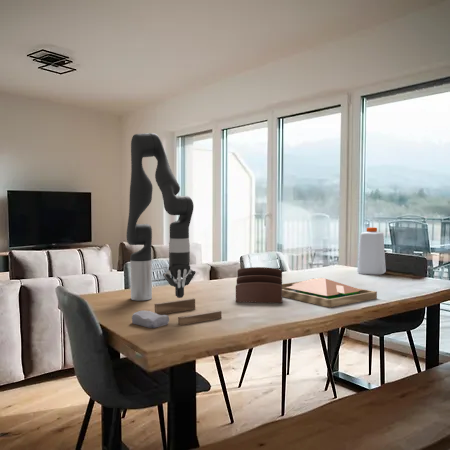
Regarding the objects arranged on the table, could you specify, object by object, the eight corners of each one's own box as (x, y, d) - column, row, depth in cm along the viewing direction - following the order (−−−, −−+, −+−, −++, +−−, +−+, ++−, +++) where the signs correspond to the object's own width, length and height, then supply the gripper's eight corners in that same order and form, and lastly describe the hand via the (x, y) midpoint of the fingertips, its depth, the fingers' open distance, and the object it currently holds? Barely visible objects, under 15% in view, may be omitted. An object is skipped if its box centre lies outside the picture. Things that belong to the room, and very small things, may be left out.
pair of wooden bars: (154, 314, 168) (154, 303, 168) (193, 308, 177) (193, 298, 177) (180, 325, 151) (180, 313, 151) (221, 318, 161) (221, 307, 161)
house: (332, 304, 184) (332, 285, 184) (279, 292, 212) (279, 276, 211) (367, 298, 197) (367, 280, 197) (313, 287, 225) (313, 271, 224)
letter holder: (237, 298, 199) (237, 266, 198) (282, 298, 196) (282, 267, 196) (235, 302, 189) (235, 269, 188) (282, 303, 186) (282, 270, 186)
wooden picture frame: (265, 292, 210) (265, 286, 210) (310, 285, 228) (310, 280, 228) (329, 307, 177) (329, 299, 177) (376, 298, 195) (376, 291, 195)
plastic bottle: (381, 275, 261) (381, 228, 260) (355, 273, 269) (355, 227, 268) (387, 272, 274) (387, 227, 273) (362, 270, 282) (362, 227, 281)
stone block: (150, 323, 162) (128, 323, 154) (152, 310, 162) (131, 309, 155) (172, 330, 154) (150, 330, 147) (174, 316, 154) (152, 315, 147)
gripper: (189, 248, 169) (189, 293, 170) (158, 250, 161) (158, 297, 162) (200, 250, 163) (200, 296, 163) (168, 252, 155) (168, 301, 156)
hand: (179, 297), depth 163 cm, fingers closed
